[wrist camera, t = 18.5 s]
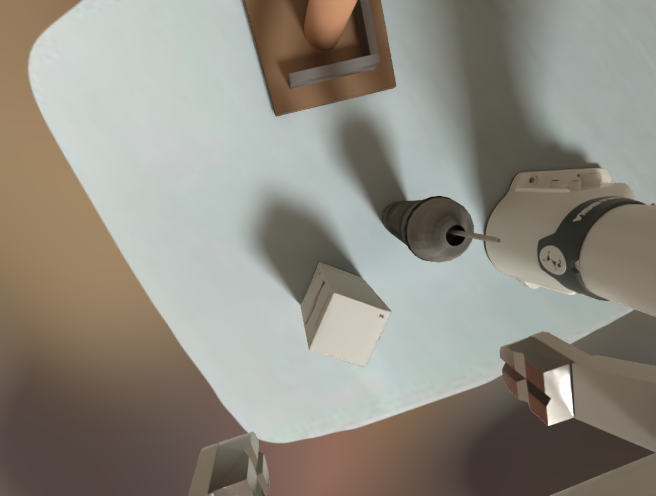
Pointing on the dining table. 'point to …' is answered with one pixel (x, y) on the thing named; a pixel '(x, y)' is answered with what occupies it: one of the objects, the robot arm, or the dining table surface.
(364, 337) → the supplement box
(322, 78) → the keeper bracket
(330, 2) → the terracotta post
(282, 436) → the dining table surface
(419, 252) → the beverage cup
